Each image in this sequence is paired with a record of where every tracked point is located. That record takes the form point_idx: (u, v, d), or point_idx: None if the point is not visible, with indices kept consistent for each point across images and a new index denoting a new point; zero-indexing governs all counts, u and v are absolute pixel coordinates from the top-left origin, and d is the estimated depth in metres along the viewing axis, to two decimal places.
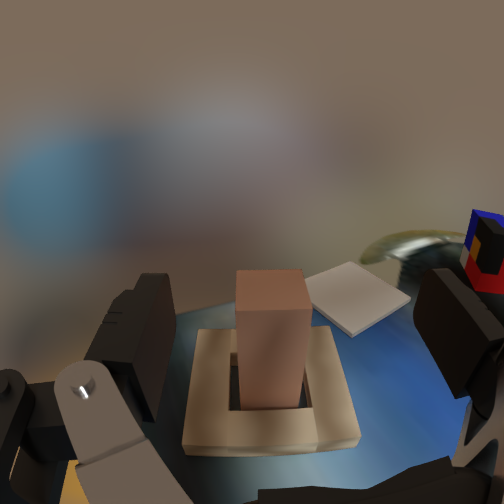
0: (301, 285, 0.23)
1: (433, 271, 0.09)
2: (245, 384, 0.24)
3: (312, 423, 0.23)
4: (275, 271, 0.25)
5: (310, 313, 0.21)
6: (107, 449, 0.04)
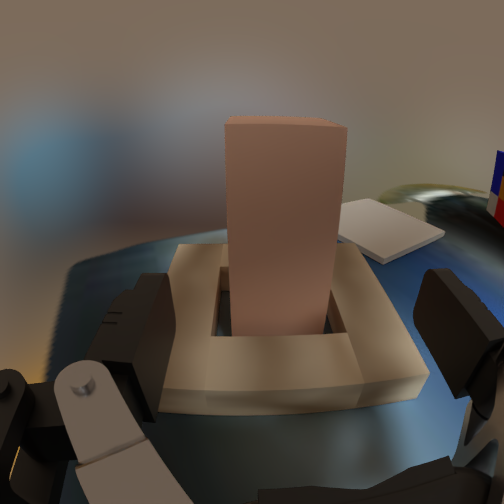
0: (324, 121, 0.15)
1: (433, 271, 0.09)
2: (239, 285, 0.16)
3: (350, 354, 0.15)
4: None
5: (344, 136, 0.12)
6: (107, 449, 0.04)
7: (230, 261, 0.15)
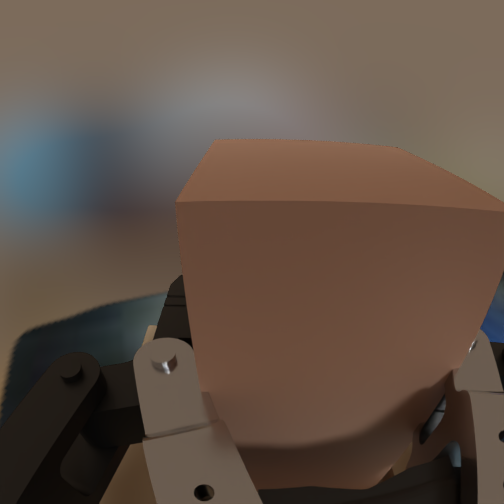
0: (427, 165, 0.06)
1: None
2: None
3: None
4: (329, 142, 0.08)
5: None
6: (207, 417, 0.05)
7: None
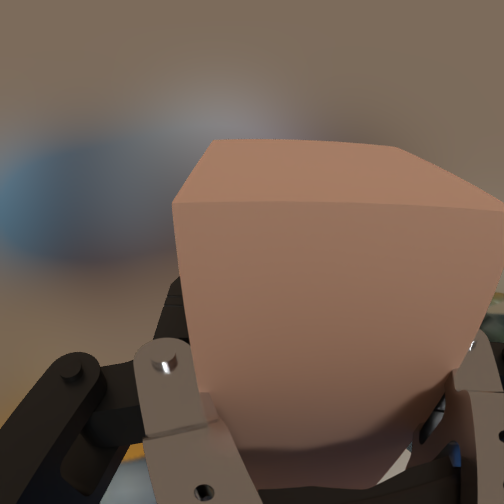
0: (426, 165, 0.06)
1: None
2: None
3: None
4: (327, 142, 0.08)
5: None
6: (207, 417, 0.05)
7: None
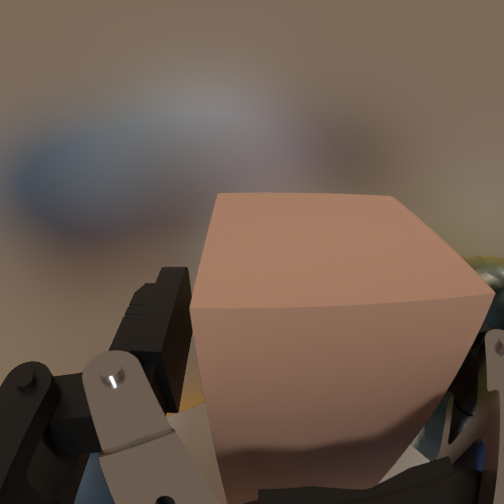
0: (417, 228, 0.07)
1: None
2: (241, 495, 0.08)
3: None
4: (326, 195, 0.09)
5: (483, 312, 0.04)
6: (143, 436, 0.04)
7: (225, 481, 0.07)
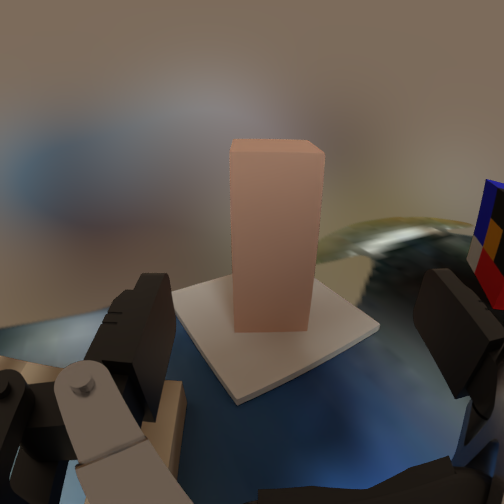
0: (309, 145, 0.19)
1: (433, 271, 0.09)
2: (240, 277, 0.20)
3: None
4: (277, 139, 0.20)
5: (322, 160, 0.16)
6: (107, 449, 0.04)
7: (233, 258, 0.19)
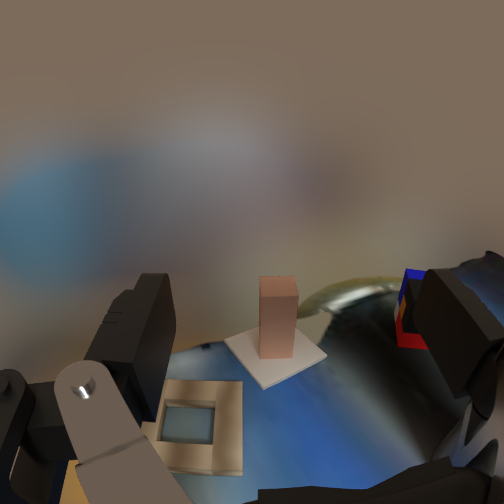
0: (293, 284, 0.45)
1: (433, 271, 0.09)
2: (263, 338, 0.46)
3: (210, 456, 0.32)
4: (280, 277, 0.47)
5: (297, 298, 0.43)
6: (107, 449, 0.04)
7: (261, 331, 0.45)
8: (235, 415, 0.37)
